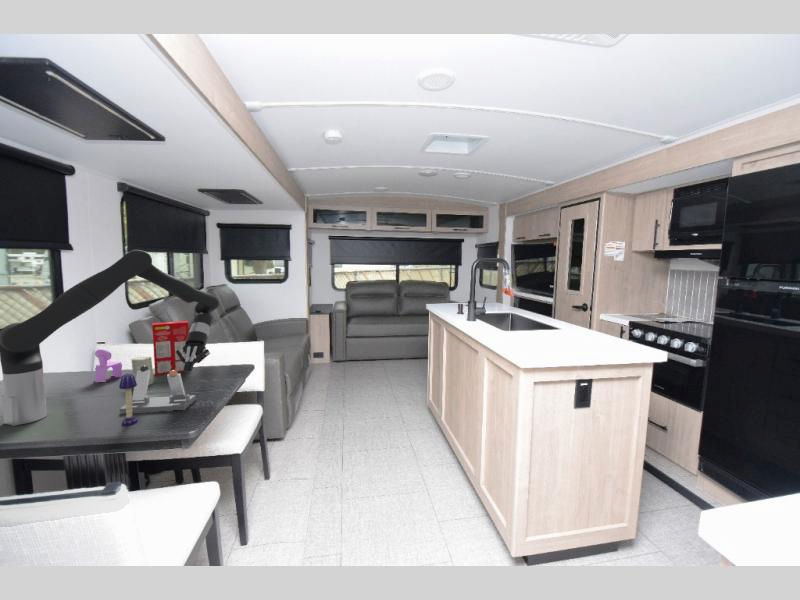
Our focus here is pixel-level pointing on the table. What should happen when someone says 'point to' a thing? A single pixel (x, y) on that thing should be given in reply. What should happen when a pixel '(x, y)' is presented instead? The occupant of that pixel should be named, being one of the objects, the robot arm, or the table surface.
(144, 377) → the black knob lever
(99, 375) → the toy chair
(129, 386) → the toy lamp
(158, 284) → the robot arm
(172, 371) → the copper knob lever
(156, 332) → the food packaging
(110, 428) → the table surface
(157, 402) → the switch panel
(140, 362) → the skincare box
